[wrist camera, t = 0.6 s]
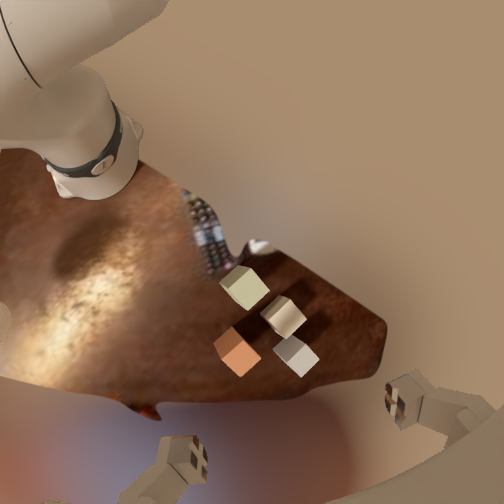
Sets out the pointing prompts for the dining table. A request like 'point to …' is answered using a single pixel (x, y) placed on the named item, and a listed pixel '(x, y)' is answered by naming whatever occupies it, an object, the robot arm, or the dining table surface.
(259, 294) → the sage block
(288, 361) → the light grey block
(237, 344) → the terracotta block
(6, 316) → the cup
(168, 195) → the dining table surface
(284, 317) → the off-white cube
